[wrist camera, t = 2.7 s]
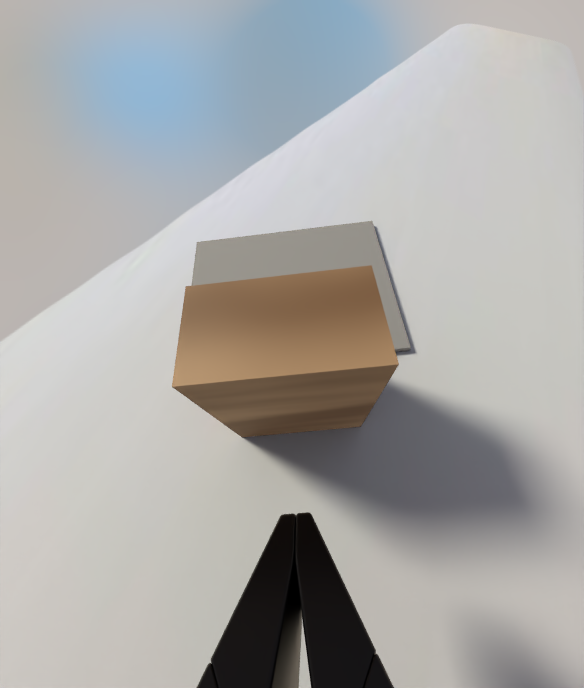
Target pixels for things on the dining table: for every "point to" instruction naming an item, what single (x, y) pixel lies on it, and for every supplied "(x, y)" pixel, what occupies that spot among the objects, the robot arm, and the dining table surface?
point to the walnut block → (286, 351)
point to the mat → (301, 261)
